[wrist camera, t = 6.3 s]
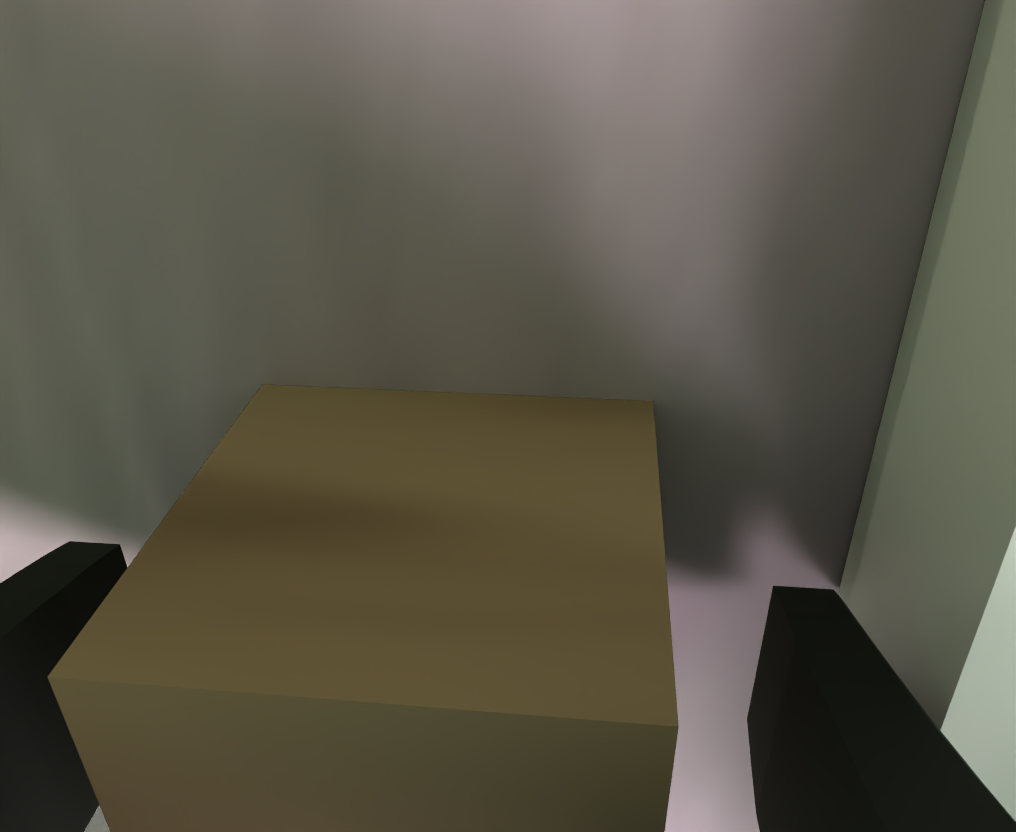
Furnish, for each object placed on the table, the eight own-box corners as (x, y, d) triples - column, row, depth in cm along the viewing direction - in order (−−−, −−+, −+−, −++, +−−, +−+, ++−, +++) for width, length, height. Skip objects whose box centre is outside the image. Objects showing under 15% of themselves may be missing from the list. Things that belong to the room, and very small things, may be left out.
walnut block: (628, 679, 12) (634, 1049, 8) (314, 656, 12) (177, 997, 8) (652, 397, 10) (677, 726, 6) (264, 381, 10) (46, 677, 6)
